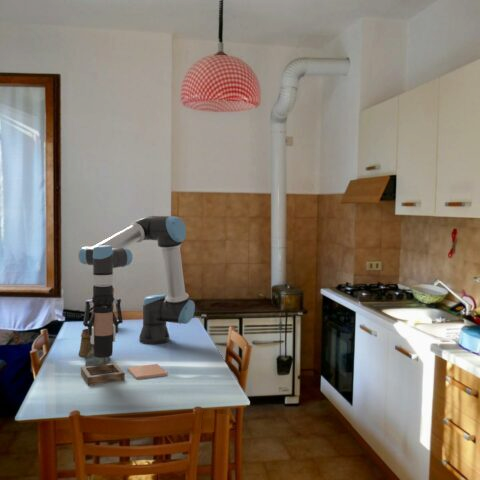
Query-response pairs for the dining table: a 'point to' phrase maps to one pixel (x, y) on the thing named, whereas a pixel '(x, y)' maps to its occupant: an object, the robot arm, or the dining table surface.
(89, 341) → the wooden mug
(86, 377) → the collar
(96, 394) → the dining table surface
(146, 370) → the coaster tile
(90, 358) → the beverage carton
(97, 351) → the travel mug
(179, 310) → the robot arm
